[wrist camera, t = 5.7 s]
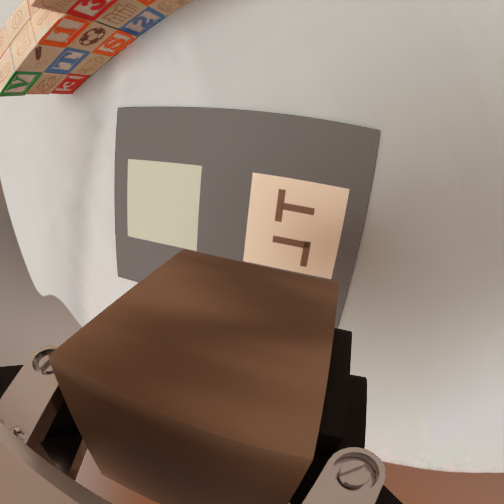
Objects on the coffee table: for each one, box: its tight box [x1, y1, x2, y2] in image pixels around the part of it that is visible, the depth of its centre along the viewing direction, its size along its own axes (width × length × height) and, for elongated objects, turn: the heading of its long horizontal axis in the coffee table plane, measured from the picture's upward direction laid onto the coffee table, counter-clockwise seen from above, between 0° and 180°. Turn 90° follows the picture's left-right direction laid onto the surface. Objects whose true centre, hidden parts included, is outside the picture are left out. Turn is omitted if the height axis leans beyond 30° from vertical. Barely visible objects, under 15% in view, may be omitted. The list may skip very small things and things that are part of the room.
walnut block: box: [48, 249, 339, 504], centre depth 8 cm, size 5×5×6 cm
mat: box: [115, 107, 380, 328], centre depth 25 cm, size 21×16×1 cm
